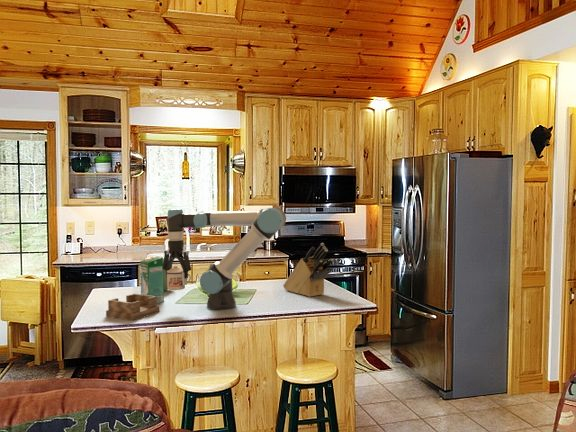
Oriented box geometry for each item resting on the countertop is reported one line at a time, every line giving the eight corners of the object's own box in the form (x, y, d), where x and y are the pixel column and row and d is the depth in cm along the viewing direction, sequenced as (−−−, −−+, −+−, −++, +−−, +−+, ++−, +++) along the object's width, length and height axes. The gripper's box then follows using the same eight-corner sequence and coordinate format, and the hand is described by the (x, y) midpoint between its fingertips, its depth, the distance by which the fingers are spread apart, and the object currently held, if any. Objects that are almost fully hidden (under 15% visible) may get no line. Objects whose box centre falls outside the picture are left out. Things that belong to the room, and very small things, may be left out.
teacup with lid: (166, 291, 248) (166, 267, 247) (166, 287, 256) (166, 264, 256) (191, 289, 250) (190, 266, 250) (190, 286, 259) (190, 263, 258)
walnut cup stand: (159, 311, 255) (159, 296, 255) (132, 320, 238) (131, 303, 238) (134, 308, 263) (133, 293, 262) (106, 316, 246) (105, 300, 246)
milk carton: (140, 301, 279) (139, 257, 277) (155, 299, 285) (154, 255, 284) (149, 304, 272) (148, 258, 271) (163, 301, 279) (162, 256, 277)
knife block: (319, 300, 279) (319, 244, 277) (282, 290, 307) (282, 240, 306) (334, 297, 286) (334, 243, 284) (297, 288, 314) (296, 238, 312)
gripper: (197, 239, 251) (199, 284, 252) (164, 238, 261) (165, 281, 262) (188, 241, 244) (189, 287, 245) (154, 239, 254) (155, 283, 255)
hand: (177, 284), depth 254 cm, fingers closed on teacup with lid, 9 cm apart
